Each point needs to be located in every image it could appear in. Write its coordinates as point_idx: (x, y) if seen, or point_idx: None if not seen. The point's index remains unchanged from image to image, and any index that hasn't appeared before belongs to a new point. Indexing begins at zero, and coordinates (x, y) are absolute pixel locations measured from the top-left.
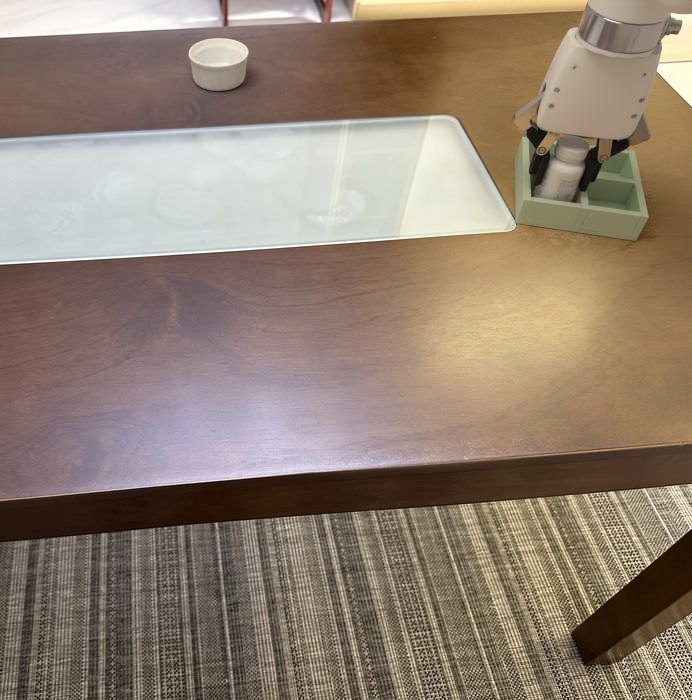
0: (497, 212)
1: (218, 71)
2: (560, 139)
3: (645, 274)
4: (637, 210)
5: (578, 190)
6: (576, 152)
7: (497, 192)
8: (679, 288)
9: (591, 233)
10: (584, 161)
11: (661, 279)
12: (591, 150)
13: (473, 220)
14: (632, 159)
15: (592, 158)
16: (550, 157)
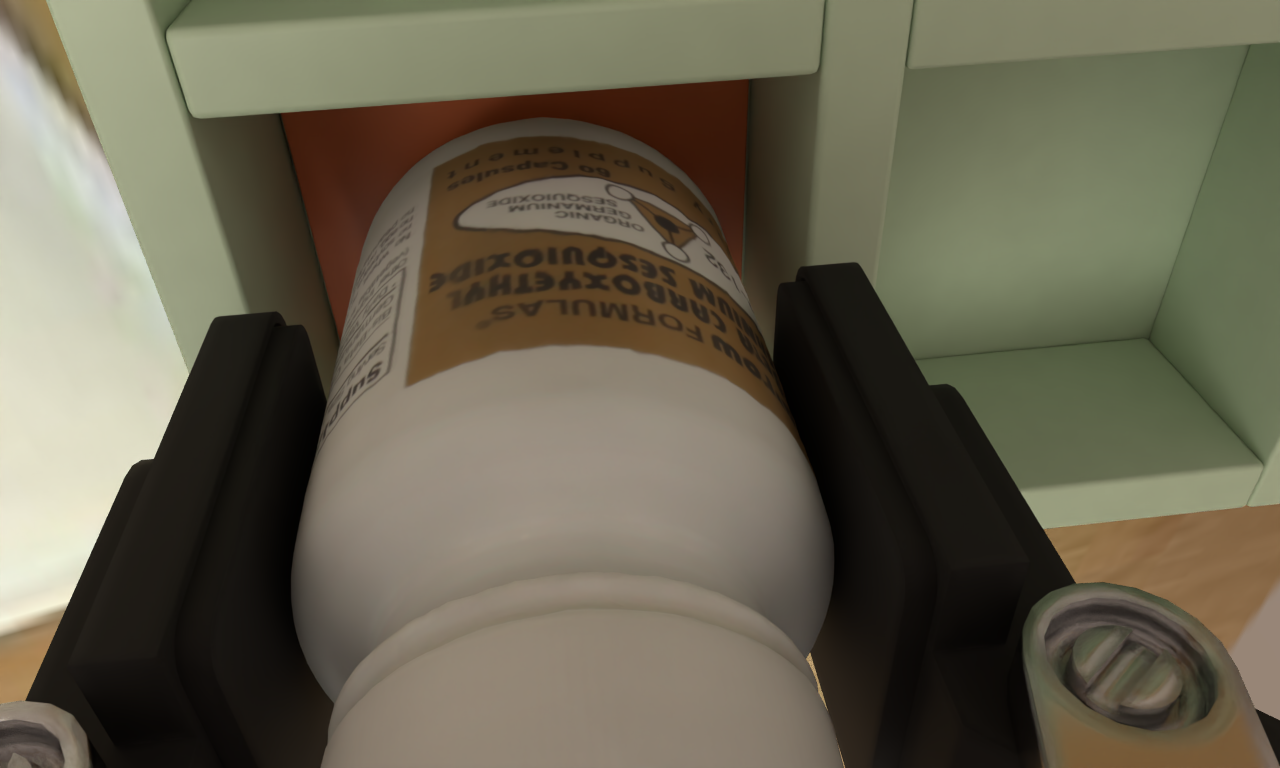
0: (143, 355)
1: None
2: None
3: (1099, 582)
4: (1270, 372)
5: (793, 280)
6: None
7: (22, 67)
8: (1232, 613)
9: None
10: (820, 589)
11: (1169, 588)
12: (937, 630)
13: (5, 492)
14: None
15: (903, 765)
16: (332, 675)
